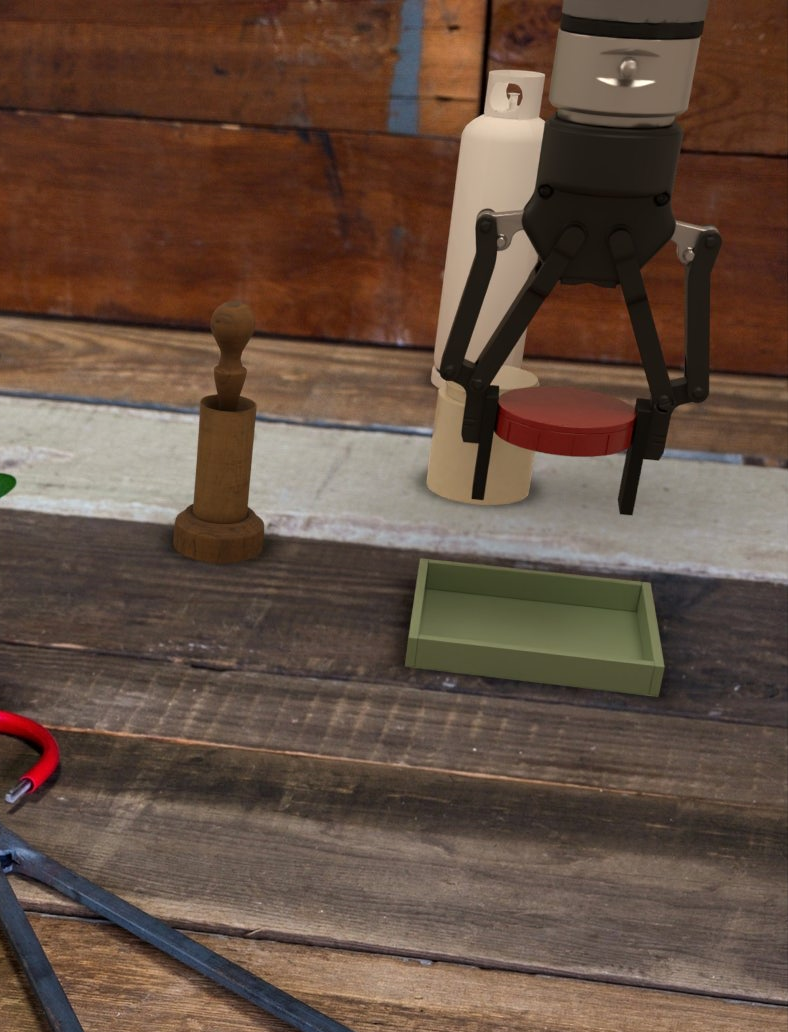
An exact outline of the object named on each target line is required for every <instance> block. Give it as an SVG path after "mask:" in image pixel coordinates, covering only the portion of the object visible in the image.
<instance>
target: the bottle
mask: <svg viewBox="0 0 788 1032" xmlns="http://www.w3.org/2000/svg"><path fill="white" fill-rule="evenodd" d="M545 79H546V74H545V73H542V72H538V71H530V70H521V69H494V70H490V71H489V72H488V79H487V87H486V93H485V100H484V101H485V102H484V109H483V110H484V111H483V114H481V115H479V116H477V117H475V118H474V119H472V120H471V121H470V122H469V123H467V124H466V125H465V126H464V129H463V131H462V133H461V136H460V137H461V138H460V145H459V152H458V161H457V169H456V176H455V177H456V178H455V186H454V193H453V199H452V200H453V201H452V202H453V203H452V208H451V209H452V210H451V217H450V224H449V232H448V233H449V234H448V240H447V248H446V255H445V256H446V257H445V266H444V272H443V274H444V275H443V280H442V281H443V282H442V288H441V297H440V304H439V312H438V321H437V328H436V336H435V343H434V353H433V362H434V365H433V366H432V368H431V374H430V375H431V376H430V382H431V384H432V385H434V386H435V387H436V388H438V389H439V388H440V387H441V386H443V385H445V384H446V380H444V379H442V378H441V376H440V373H439V371H440V364H441V358H442V355H443V352H444V349H445V346H446V343H447V340H448V337H449V334H450V330H451V327H452V324H453V321H454V318H455V315H456V312H457V309H458V306H459V303H460V300H461V297H462V294H463V291H464V287H465V284H466V281H467V278H468V275H469V272H470V269H471V266H472V263H473V260H474V257H475V254H476V235H475V226H476V218H477V215H478V213H479V212H480V211H481V210H482V209H486V208H489V209H492V210H494V211H495V212H505V211H515V210H523V209H524V207H525V205H526V204H527V203H528V201H529V200H530V198H531V197H532V195H533V192H534V190H535V185H536V178H537V171H538V165H539V158H540V151H541V144H542V138H543V131H544V124H545V121H546V120H544V119H543V118H541V117H540V113H541V107H542V100H543V94H544V93H543V92H544V86H545ZM509 84H512V85H517V86H518V87H519V88H520V90H521V93H522V94H521V93H517V92H508V93H507V90H508V86H509ZM507 94H508V95H509V98H508V95H507ZM520 95H522V99H521V101H520V104H519V105H518V101H519V96H520ZM538 260H539V256H538V255H537V253H536V251H535V249H534V247H533V246H532V244H531V242H530V240H529V238H528V237H527V235H526V233H525V231H524V230H520V231H518V232H516V233H515V234H514V236H513V237H512V241H511V244H510V246H509V247H508V248H507V249H505V250H503V251H497V258H496V264H495V268H494V271H493V274H492V277H491V280H490V283H489V286H488V289H487V292H486V295H485V298H484V301H483V304H482V307H481V310H480V313H479V316H478V319H477V322H476V325H475V328H474V331H473V334H472V337H471V340H470V343H469V346H468V349H467V352H466V355H465V359H467V360H469V361H471V362H473V363H475V361H476V360H477V358H478V357H479V355H480V354H481V352H482V350H483V349H484V347H485V346H486V344H487V342H488V341H489V339H490V338H491V336H492V335H493V333H494V331H495V330H496V328H497V327H498V325H499V323H500V322H501V320H502V319H503V317H504V316H505V314H506V312H507V311H508V309H509V308H510V306H511V304H512V303H513V301H514V300H515V298H516V297H517V295H518V293H519V292H520V290H521V289H522V287H523V285H524V284H525V282H526V281H527V279H528V276H529V274H530V273H531V271H532V269H533V268H534V266H535V264H536V263H537V261H538ZM527 332H528V327H527V328H526V330H525V331H524V333H523V334H522V336H521V337H520V339H519V340H518V342H517V344H516V345H515V347H514V348H513V350H512V351H511V353H510V354H509V356H508V358H507V359H506V361H505V362H504V364H503V365H506V366H511V367H516V368H520V369H522V364H523V357H524V350H525V345H526V337H527Z"/></svg>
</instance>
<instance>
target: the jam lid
mask: <svg viewBox="0 0 788 1032" xmlns="http://www.w3.org/2000/svg"><path fill="white" fill-rule="evenodd" d="M636 417H637V413H636V410H635V407H634V406H632V405H631V404H629V403H628V402H626V401H624V400H622V399H620V398H618V397H615V396H611V395H608V394H604V393H601V392H597V391H592V390H587V389H582V388H574V387H563V386H539V387H526V388H519V389H514V390H511V391H507V392H505V393H503V394H502V395H500V396H499V401H498V408H497V414H496V421H495V428H494V432H495V434H496V435H497V436H498V437H500V438H501V439H503V440H504V441H506V442H508V443H511V444H513V445H515V446H518V447H521V448H524V449H528V450H532V451H535V453H536V452H537V453H541V454H547V455H548V454H549V455H552V456H553V455H554V456H561V457H575V458H593V457H604V456H611V455H615V454H619V453H621V452H624V451H627V449H628V448H629V447H630V445H631V443H632V438H633V433H634V428H635V421H636Z"/></svg>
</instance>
